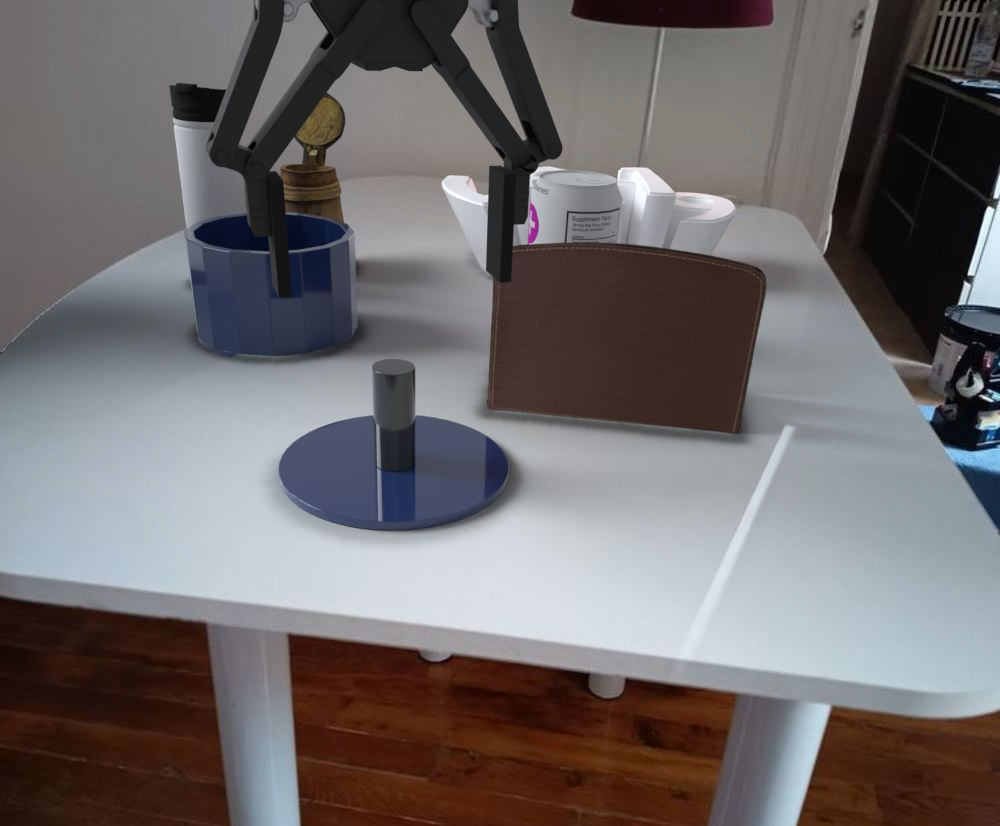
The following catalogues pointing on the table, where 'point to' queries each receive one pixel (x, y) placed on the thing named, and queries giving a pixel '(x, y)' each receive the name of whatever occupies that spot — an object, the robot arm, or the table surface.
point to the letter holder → (625, 335)
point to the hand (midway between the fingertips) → (394, 284)
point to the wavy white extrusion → (644, 214)
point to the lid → (393, 463)
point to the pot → (250, 293)
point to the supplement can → (574, 208)
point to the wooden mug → (316, 164)
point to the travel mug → (202, 156)
